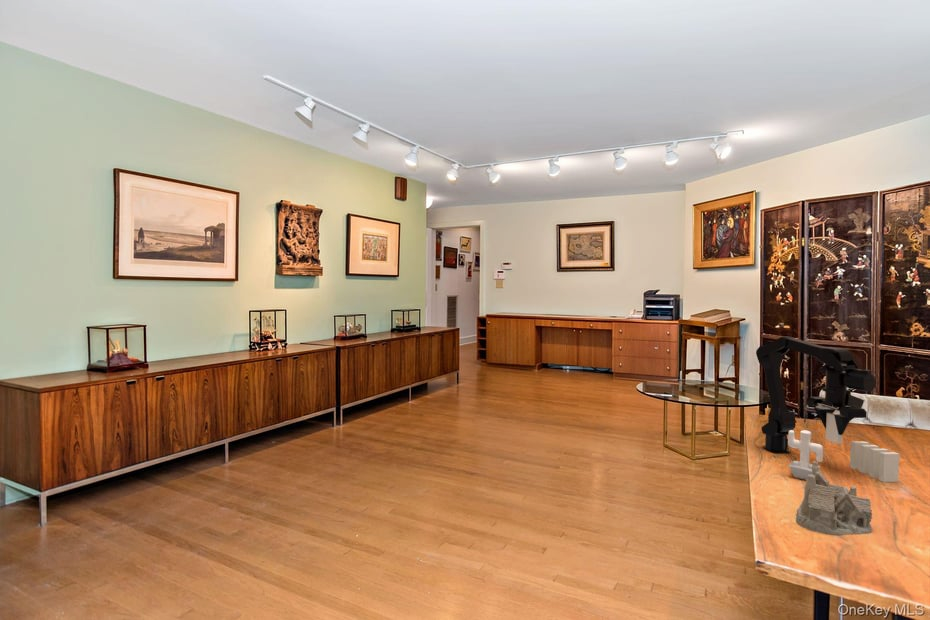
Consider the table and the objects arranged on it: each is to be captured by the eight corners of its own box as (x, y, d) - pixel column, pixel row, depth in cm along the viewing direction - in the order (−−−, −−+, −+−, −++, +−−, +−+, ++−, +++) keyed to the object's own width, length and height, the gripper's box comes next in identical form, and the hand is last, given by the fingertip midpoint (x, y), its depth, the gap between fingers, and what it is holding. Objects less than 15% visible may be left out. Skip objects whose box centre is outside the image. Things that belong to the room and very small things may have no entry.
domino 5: (883, 482, 158) (884, 454, 157) (878, 480, 159) (880, 452, 159) (898, 481, 158) (899, 453, 157) (893, 480, 159) (894, 452, 159)
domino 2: (853, 469, 169) (855, 443, 168) (849, 467, 170) (851, 441, 170) (867, 469, 169) (869, 442, 169) (863, 467, 171) (865, 441, 170)
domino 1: (842, 443, 165) (843, 416, 164) (837, 443, 165) (838, 416, 164) (830, 439, 170) (831, 412, 169) (825, 439, 170) (826, 412, 169)
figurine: (818, 484, 155) (821, 436, 154) (783, 475, 162) (785, 430, 161) (824, 478, 160) (826, 432, 159) (789, 470, 167) (791, 426, 166)
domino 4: (872, 477, 161) (874, 450, 161) (868, 475, 163) (869, 448, 162) (887, 477, 162) (888, 450, 161) (883, 475, 163) (884, 448, 163)
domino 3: (863, 473, 165) (864, 446, 165) (858, 471, 167) (860, 445, 166) (877, 473, 165) (878, 446, 165) (873, 471, 167) (874, 444, 166)
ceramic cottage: (788, 523, 129) (796, 466, 128) (803, 506, 140) (810, 454, 139) (865, 550, 118) (874, 488, 117) (874, 529, 129) (882, 473, 128)
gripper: (884, 391, 158) (881, 440, 158) (836, 380, 176) (834, 424, 177) (850, 391, 157) (848, 441, 158) (806, 380, 176) (804, 424, 176)
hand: (834, 432), depth 167 cm, fingers closed on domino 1, 5 cm apart
